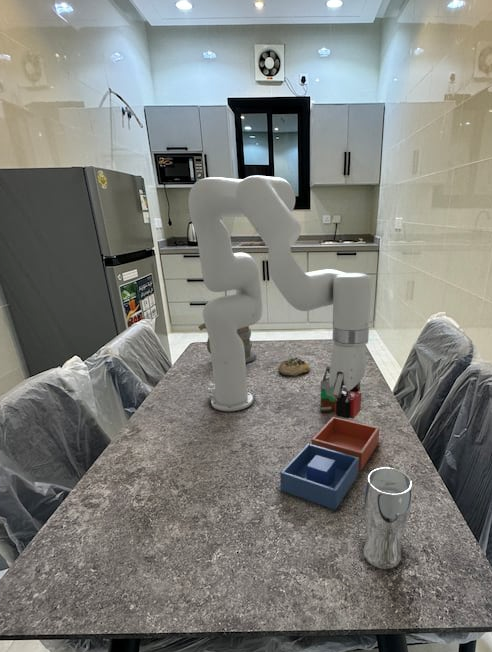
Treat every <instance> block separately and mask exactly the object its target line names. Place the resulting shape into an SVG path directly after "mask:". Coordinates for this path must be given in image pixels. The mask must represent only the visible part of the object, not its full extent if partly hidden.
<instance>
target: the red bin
mask: <svg viewBox="0 0 492 652" xmlns="http://www.w3.org/2000/svg"><path fill="white" fill-rule="evenodd" d="M379 439H380V427H378V426H373V425H369V424H365V423H360V422H357V421H353V420H349V419H346V418H341V417H337V416H336V417H335V416H332V417H331V418H330V419H329V420H328V421H327V422H326V424H324V426H323V427H321V429H320V430H319V431H317V433H316V434H315V435H314V436H313V437H312V438H311V444H312V445H316V446H319V447H323V448H327V449H330V450H334V451H337V452H341V453H344V454H348V455H351V456H355V457H358V458H359V468H358V471H362V470H363V468H364V467H365V466H366V464H367V462H368V460H369V459H370V457H371V456H372V454H373V452H374V451H375V450H376V448H377V446H378V445H379Z"/></svg>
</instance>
